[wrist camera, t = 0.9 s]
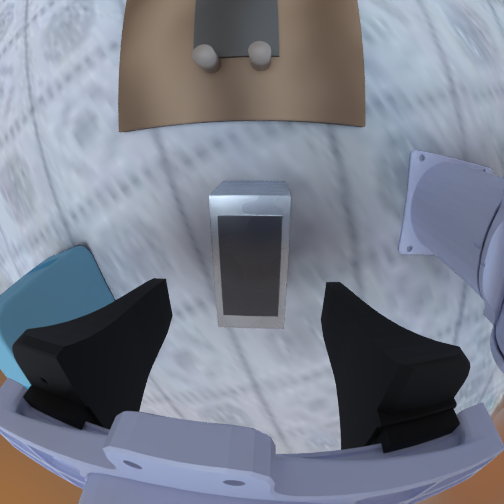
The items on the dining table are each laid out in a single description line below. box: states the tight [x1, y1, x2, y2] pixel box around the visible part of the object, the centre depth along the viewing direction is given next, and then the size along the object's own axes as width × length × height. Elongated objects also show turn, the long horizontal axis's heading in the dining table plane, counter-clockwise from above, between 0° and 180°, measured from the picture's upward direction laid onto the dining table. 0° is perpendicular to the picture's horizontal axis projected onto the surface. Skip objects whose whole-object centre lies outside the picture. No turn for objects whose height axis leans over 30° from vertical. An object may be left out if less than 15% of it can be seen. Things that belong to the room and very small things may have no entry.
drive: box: [209, 181, 291, 329], centre depth 17 cm, size 4×8×5 cm, turn 0°
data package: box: [0, 246, 115, 389], centre depth 17 cm, size 12×4×12 cm, turn 16°
